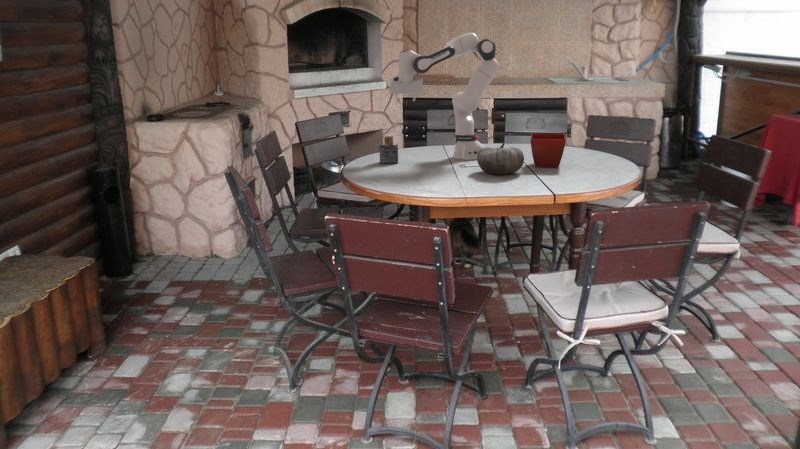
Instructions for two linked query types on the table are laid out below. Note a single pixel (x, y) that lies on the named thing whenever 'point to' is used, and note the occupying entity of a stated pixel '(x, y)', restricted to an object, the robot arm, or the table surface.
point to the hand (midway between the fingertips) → (406, 101)
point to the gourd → (500, 160)
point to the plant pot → (547, 149)
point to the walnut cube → (388, 140)
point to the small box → (388, 154)
